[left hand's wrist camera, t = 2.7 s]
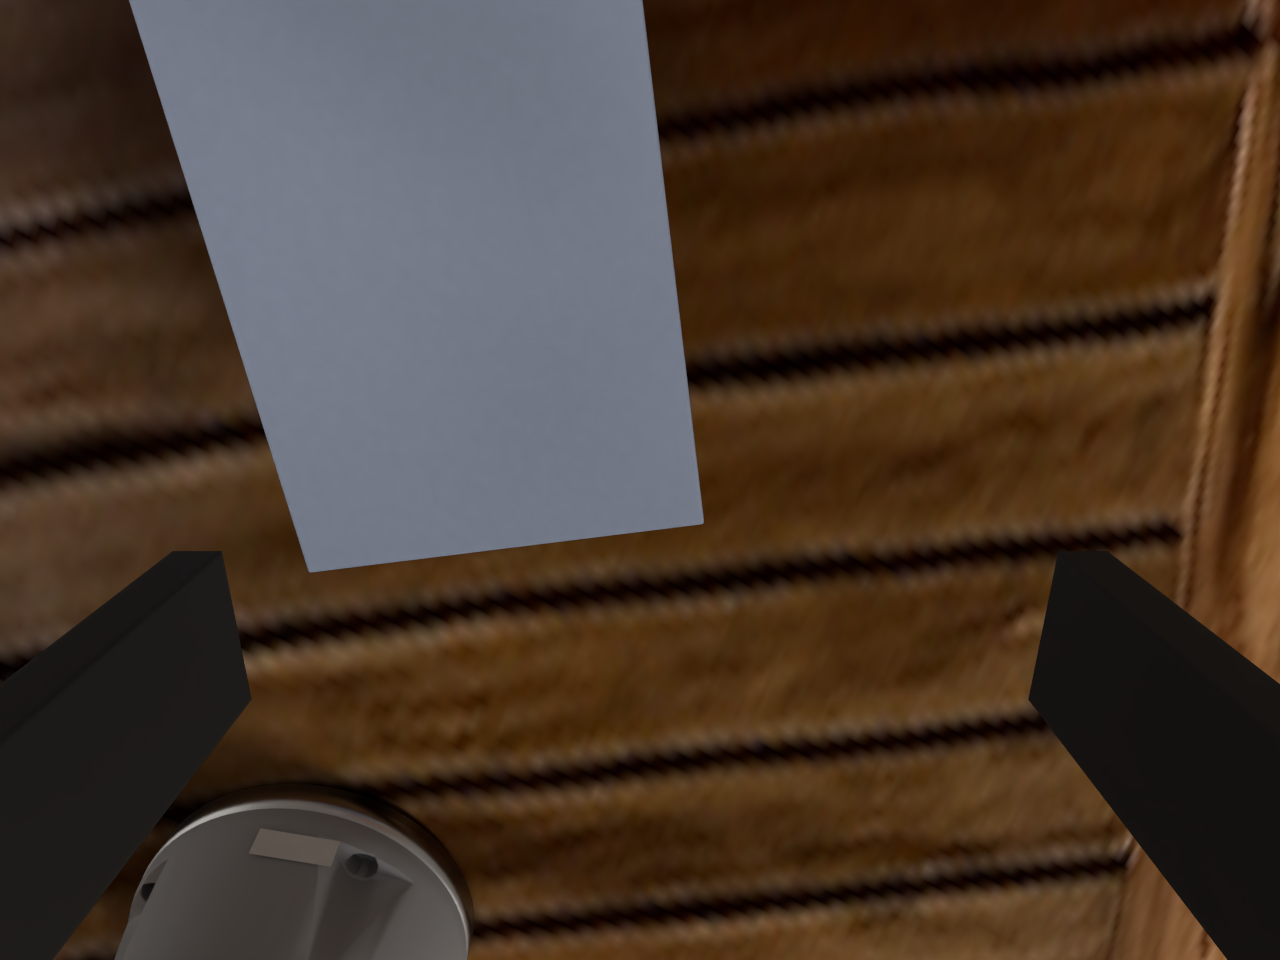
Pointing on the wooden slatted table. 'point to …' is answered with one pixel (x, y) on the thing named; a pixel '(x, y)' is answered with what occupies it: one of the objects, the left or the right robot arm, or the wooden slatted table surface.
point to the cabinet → (440, 263)
